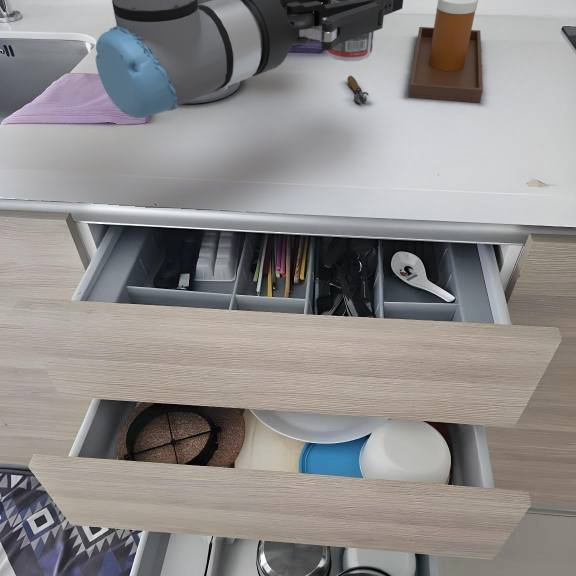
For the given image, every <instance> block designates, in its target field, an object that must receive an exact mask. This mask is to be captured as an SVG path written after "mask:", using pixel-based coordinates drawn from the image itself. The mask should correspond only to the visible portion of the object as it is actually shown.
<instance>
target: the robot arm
mask: <svg viewBox="0 0 576 576" xmlns="http://www.w3.org/2000/svg"><path fill="white" fill-rule="evenodd" d="M111 4H112V9H113V14H114V19H115V20H114V21H115V23H116V24H115V25H116V26H114V27H110V29H109V30H108V31H105V32H103V33H101V35H100V36H99V37H98V39H97V41H96V45H95V50H96V55H95V65H96V69H97V73H98V76H99V79H100V82H101V84H102V86H103V88H104V91H105V92H106V94H107V96H108V97H109V99H110V100H111V101H112V103H113V104H114V106H116V107H117V108H118V109H119V111H121V112H122V113H123V114H125V115H128V116H129V117H130V118H135V119H143V118H148V117H150V116H154V115H157V114H161V113H164V112H169V111H174V110H176V109H177V107H179V106H182V105H185V104H186V105H190V104H192V105H193V104H204V103H209V102H215V101H218V100H222V99H224V98H226V97H228V96H230V95H232V94H233V93H235V92H236V91H237V90H238V89H239V88H240V85H241V82H242V81H244V80H247V79H249V78H251V77H254V76H259V75H262V74H264V73H266V72H268V71H271V70H274V69H276V68H278V67H279V66H281V64H283V63H284V61H285V60H286V58H287V56H288V54H289V53H290V51H291V49H292V48H298V47H301V46H303V45H306V44H308V43H310V42H315V41H320V42H321V50H324V51H327V50H331V49H333V48H334V47H335V46H337V45H338V44H340V43H342V42H345V41H348V40H351V39H354V38H356V37H359V36H362V35H365V34H368V33H371V32H373V31H374V32H376V31H379V30H382V29H383V26H384V18H385V16H387V15H389V14H392V13H395V12H397V11H400V10H402V9H403V5H404V0H348V1H342V2H337V3H331V4H328V0H111Z"/></svg>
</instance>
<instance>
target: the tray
mask: <svg viewBox="0 0 576 576" xmlns="http://www.w3.org/2000/svg"><path fill="white" fill-rule="evenodd" d="M433 30H434V27H430V26H429V27H427V26H419V27H418V32H417V39H416V44H415V45H416V46H415V50H414V51H415V52H414V57H413V63H412V69H411V76H410V82H409V89H408V96H407V97H408V98H414V99H424V100H425V99H428V100H440V101H452V102H463V103H464V102H466V103H478V104H479V103H481V101H482V100H481V99H482V95H483V91H484V83H483V82H484V81H483V62H482V37H481V34H482V33H481V30H480V29H476V30H475V29H472V30H471V34H470V39H469V44H468V49H467V54H466V59H465V64H464V67H463V68H462V69H460V70H456V71H441V70H437V69H434V68H432V67H431V66H430V65H429V59H430V53H431V47H432V46H431V42H432V36H433Z"/></svg>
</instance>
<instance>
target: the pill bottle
mask: <svg viewBox="0 0 576 576" xmlns="http://www.w3.org/2000/svg"><path fill="white" fill-rule="evenodd" d="M342 1H348V0H328V4H331V3H337V2H342ZM374 32H375V31H373V32H371V33H368V34H365V35H362V36H359V37H356V38H354V39H351V40H348V41H345V42H342V43H340V44H338V45H337V46H335V47H334V48H333V49H331V50H326V54H327V55H328V56H329V57H330V58H331V59H333V60H336V61H340V62H345V63H347V62H349V63H351V62H352V63H353V62H360V61H363V60H365V59H368V58H369V57H370V56H371V55H372V52H373V45H374Z"/></svg>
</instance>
